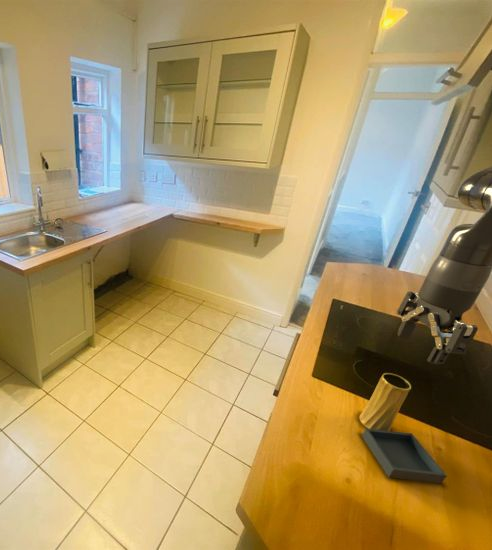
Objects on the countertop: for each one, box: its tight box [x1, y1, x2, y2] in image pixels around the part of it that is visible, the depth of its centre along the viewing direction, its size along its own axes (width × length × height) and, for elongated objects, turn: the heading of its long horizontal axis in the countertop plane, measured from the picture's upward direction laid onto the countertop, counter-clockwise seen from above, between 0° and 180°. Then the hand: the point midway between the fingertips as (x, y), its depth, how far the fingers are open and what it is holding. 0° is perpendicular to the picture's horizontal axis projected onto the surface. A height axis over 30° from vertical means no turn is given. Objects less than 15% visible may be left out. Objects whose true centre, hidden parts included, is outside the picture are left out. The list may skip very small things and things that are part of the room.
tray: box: [361, 428, 448, 484], centre depth 67 cm, size 10×10×3 cm
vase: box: [359, 372, 412, 431], centre depth 72 cm, size 6×6×14 cm
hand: (417, 349), depth 64 cm, fingers open, 8 cm apart
